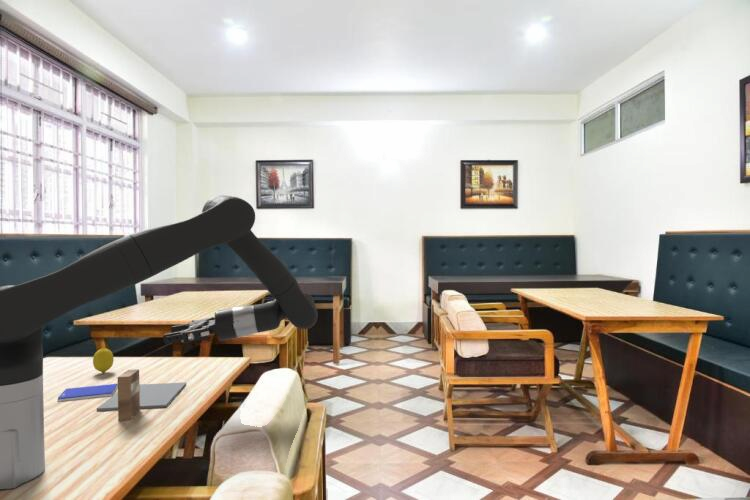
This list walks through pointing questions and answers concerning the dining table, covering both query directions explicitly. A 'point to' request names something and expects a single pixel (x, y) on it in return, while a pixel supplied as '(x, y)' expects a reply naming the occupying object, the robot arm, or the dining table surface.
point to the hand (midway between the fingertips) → (167, 335)
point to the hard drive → (87, 392)
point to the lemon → (103, 360)
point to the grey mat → (149, 396)
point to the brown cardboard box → (128, 394)
